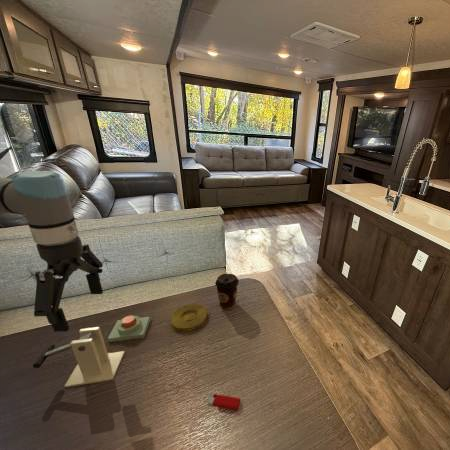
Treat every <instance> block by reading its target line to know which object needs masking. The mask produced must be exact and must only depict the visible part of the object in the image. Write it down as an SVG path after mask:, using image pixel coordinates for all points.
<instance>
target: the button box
mask: <svg viewBox="0 0 450 450" xmlns="http://www.w3.org/2000/svg"><path fill="white" fill-rule="evenodd" d="M133 316H134V317H135V324H134V325H133V326H131V327H129V328H124V327H123V325H122V319H118V320H116V321H115V324H114V326H113V327H112V330H111V331H110V333H109V336H108V337H107V341H108V343H112V342H123V341H130V340H137V339H144V338H145V336H146V333H147V330H148V327H149V326H150V323H151V317H150V316H145V317H140V316H137V315H133Z"/></svg>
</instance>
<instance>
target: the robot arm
mask: <svg viewBox="0 0 450 450" xmlns="http://www.w3.org/2000/svg"><path fill="white" fill-rule="evenodd" d="M2 214H11V215H12V214H14V215H24V217H25V220H26V221H27V225H28V227H29V230H30V233H31V236H32V239H33V242H34V243H35V244H36V245H35V246H36V250H37V253H38V254H39V255H38V256H39V258H40V259H41V260H43V261H44V262H45V263H46V264H47V265H46V269H45V270H42V271H41V270H38V271H36V272H35V273H34V275H35V276H34V277H35V281H36V286H35V298H34V309H33V310H34V311H33V316H34V317H46V319H47V321H48V323H49V324H50V325H51V326H52V330H53V332H68V331H69V330H70V327H69V324H68V323H69V322H68V321H67V319H66V314H65V313H64V310H63V308H62V307H60V305H61V301H62V296H63V292H64V290H65V285H66V283H67V282H68V281H69V279H70V277H71V275H72V274H73V273H74V272H77V271H78V270H80V271H82V272H85V273H87V274H85V279H86V282H87V285H88V288H89V291H90V295H102V294H103V293H104V291H103V287H102V284H101V278H100V274H102V273H103V266H104V264H103V262H102V261H101V260H100V259H99V258H98V257H97V256H96V255H95V254H94V253H93V252H92V250H91V248H90V245H89V244H85V243H84V244H83V242H82V239H81V236H79V234H80V233H79V229H78V226H77V222H76V219H75V214H74V212H73V208H72V204H71V201H70V195H69V190H68V189H67V186H66V184H65V181H64V178H63V176H62V175H61V174H60V173H58V172H56V171H52V170H27V171H21V172H17V173H15V174H13V175H12V177H11V178H9V177H1V176H0V215H2ZM56 276H57V277H56Z"/></svg>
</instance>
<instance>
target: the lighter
mask: <svg viewBox="0 0 450 450" xmlns="http://www.w3.org/2000/svg"><path fill="white" fill-rule="evenodd" d="M240 403H241V398H240V397H234V396H227V395H222V394H216V393H214V394H213V395H212V396H209V399H208V401H207V405H208V406H213V407H217V408H220V409H227V410H232V411H238V410H239V406H240Z"/></svg>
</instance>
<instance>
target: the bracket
mask: <svg viewBox="0 0 450 450" xmlns="http://www.w3.org/2000/svg"><path fill="white" fill-rule="evenodd" d="M90 332H92V333H93V334H94V335H95V336H96V337H97V338H96V340H95V342H93V339H83V340H79V339H75V340H71V342H70V343H71V347H72V348H71V349H72V352H73V354H74V357H75V360H76V362H77V364H76V366H75V367H74V369H73V371H72V373H71V374H70V375H69V377H68V379H67V380H66V383H65V384H64V388H71V387H77V386H84V385H90V384H95V383H103V382H108V381H113V380H114V378H115V375H116V374H117V372H118V369H119V366H120V365H121V362H122V361H123V358H124V356H125V353H126V351H125V350H122V351H115V352H108V350H107V346H106V344H105V339H104V336H103V333H102V330H101V327H100V326H95V327H85V328H80V329H79V331H78V333H79V336H80V337H81V336H82V335H85V334H87V333H90Z"/></svg>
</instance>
